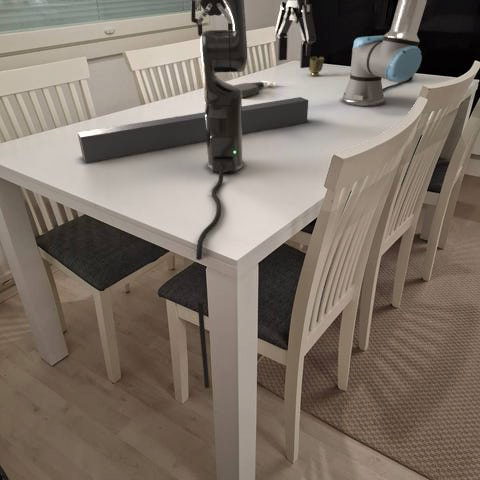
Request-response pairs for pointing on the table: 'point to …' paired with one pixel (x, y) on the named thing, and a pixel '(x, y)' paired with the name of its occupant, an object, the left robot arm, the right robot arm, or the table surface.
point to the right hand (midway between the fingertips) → (293, 63)
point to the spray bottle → (252, 87)
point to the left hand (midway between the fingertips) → (215, 37)
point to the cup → (316, 65)
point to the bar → (183, 130)
